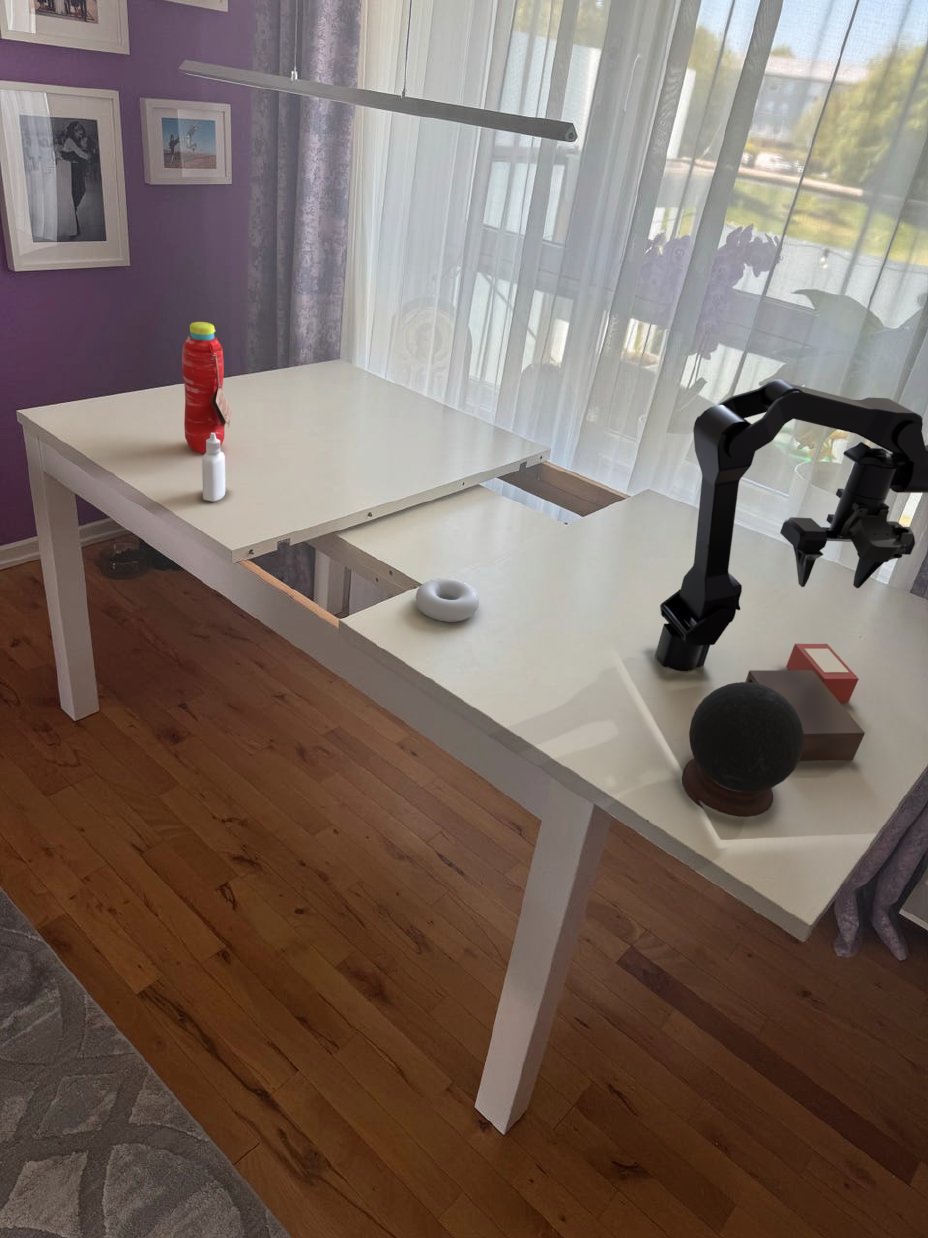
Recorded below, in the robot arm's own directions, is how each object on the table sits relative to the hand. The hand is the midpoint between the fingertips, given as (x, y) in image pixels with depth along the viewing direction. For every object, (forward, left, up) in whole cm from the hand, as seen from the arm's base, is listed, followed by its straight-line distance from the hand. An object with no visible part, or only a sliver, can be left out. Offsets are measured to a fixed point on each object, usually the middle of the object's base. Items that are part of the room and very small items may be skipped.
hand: (828, 586), depth 136 cm
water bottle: (-94, +72, -13) cm, 119 cm away
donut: (-55, +13, -13) cm, 58 cm away
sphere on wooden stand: (-26, -29, -13) cm, 41 cm away
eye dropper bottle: (-92, +51, -13) cm, 106 cm away
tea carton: (-2, -8, -13) cm, 15 cm away
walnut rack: (-11, -18, -13) cm, 25 cm away
